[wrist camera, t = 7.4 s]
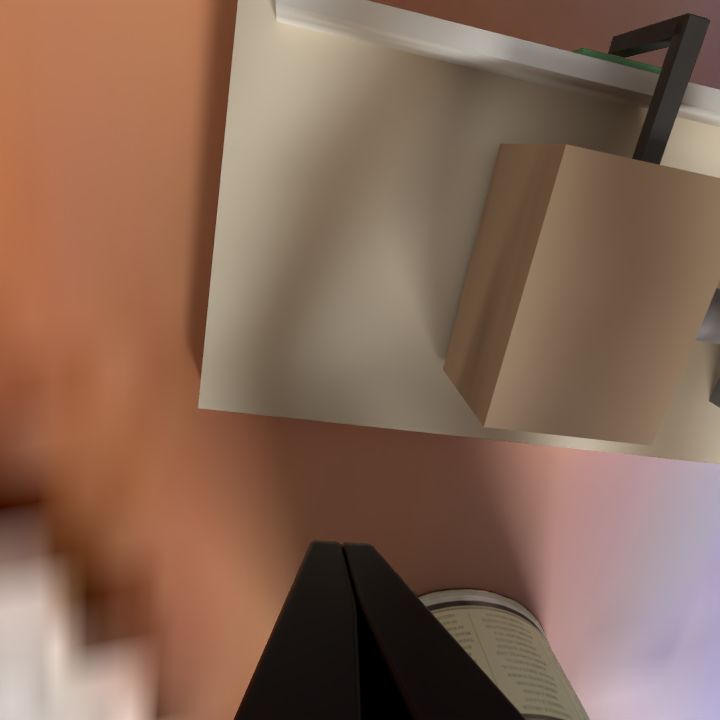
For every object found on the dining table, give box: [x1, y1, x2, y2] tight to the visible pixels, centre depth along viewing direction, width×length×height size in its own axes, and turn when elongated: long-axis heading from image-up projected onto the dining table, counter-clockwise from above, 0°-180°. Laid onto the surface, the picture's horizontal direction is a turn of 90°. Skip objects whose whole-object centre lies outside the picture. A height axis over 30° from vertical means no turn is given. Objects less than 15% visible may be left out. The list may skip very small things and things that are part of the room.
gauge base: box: [198, 0, 720, 464], centre depth 17 cm, size 22×12×5 cm, turn 79°
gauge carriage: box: [443, 13, 720, 446], centre depth 15 cm, size 8×10×4 cm
